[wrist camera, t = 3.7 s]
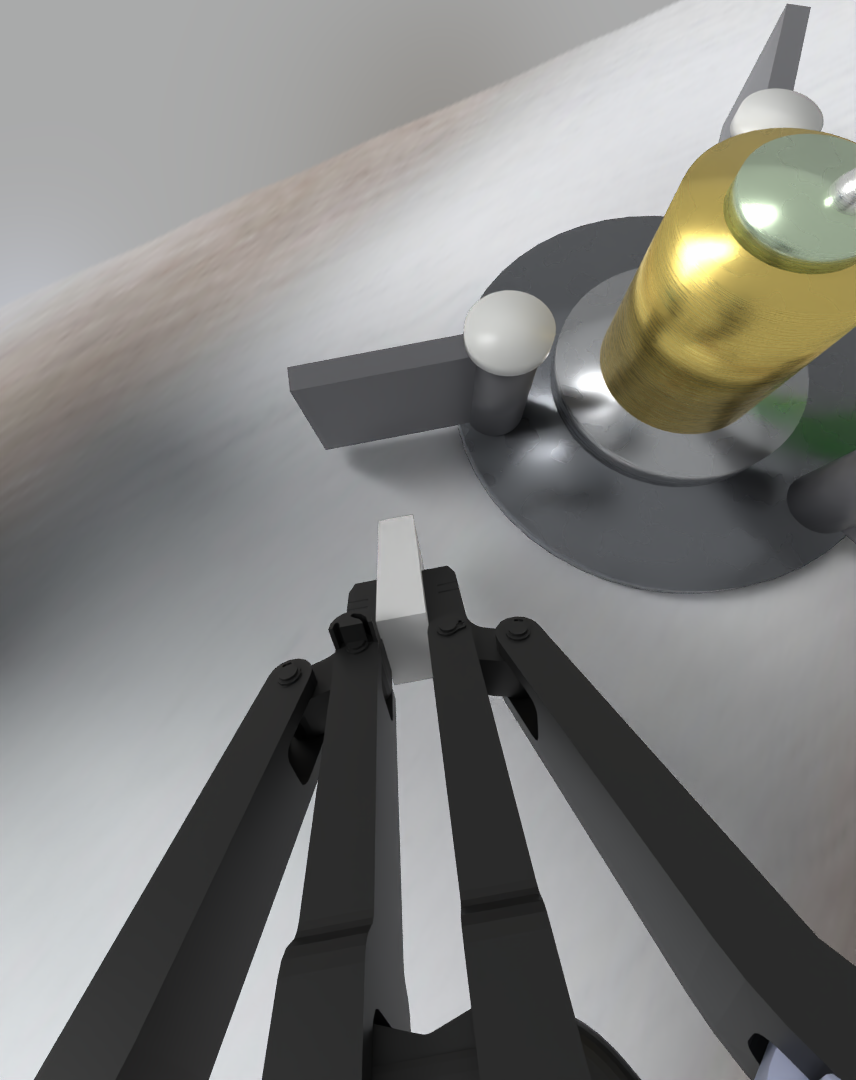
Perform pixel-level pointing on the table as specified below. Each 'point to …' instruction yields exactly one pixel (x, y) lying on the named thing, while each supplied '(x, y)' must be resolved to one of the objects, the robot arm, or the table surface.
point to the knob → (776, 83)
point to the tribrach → (690, 373)
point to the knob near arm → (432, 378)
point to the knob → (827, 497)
